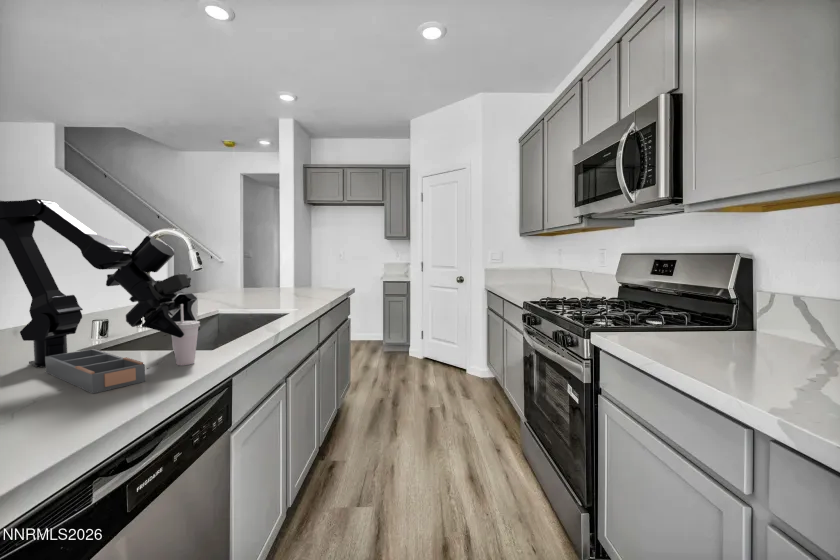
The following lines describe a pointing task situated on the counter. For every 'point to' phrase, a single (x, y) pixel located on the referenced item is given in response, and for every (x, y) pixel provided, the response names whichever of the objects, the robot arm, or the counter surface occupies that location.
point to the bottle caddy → (95, 370)
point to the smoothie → (186, 341)
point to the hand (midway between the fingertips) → (190, 333)
